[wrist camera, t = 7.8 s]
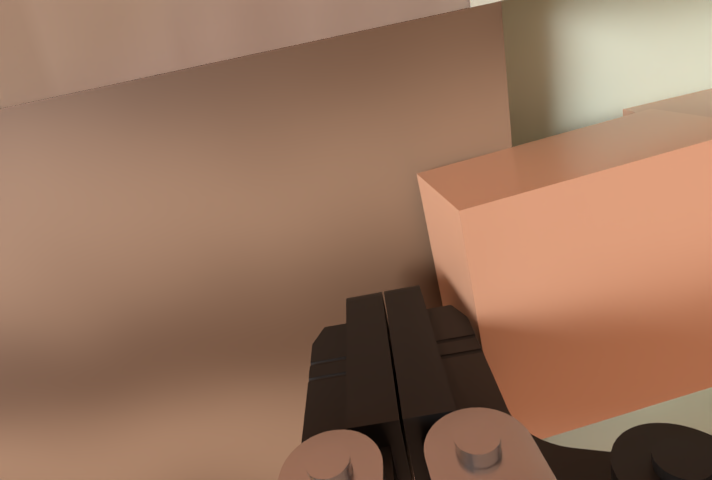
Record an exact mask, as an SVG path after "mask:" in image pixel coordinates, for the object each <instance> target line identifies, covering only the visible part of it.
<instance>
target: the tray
mask: <svg viewBox="0 0 712 480" xmlns="http://www.w3.org/2000/svg"><path fill="white" fill-rule="evenodd" d="M498 1H501V6H502V19H503V33H504V46H505V59H506V73H507V86H508V99H509V113H510V126H511V139H512V147H514V146H518V145H522V144H525V143H529V142H533V141H536V140H540V139H543V138H547V137H551V136H554V135H558V134H561V133H565V132H569V131H572V130H576V129H579V128H583V127H587V126H590V125H594V124H598V123H601V122H605V121H608V120H612V119H616V118H619V117H623V109H626V108H630V107H634V106H639V105H643V104H647V103H651V102H656V101H660V100H664V99H668V98H673V97H677V96H681V95H685V94H690V93H694V92H698V91H702V90H707V89H711V88H712V0H470V8H471V7H475V6H480V5H485V4H489V3H494V2H498ZM647 423H671V424H678V425H683V426H687V427H691V428H694V429H697V430H700V431H702V432H705V433H708V434H710V435H712V387H711V388H707V389H704V390H701V391H698V392H694V393H691V394H688V395H685V396H681V397H678V398H675V399H672V400H668V401H665V402H662V403H659V404H655V405H652V406H649V407H646V408H642V409H639V410H636V411H633V412H629V413H626V414H623V415H620V416H616V417H613V418H610V419H606V420H603V421H600V422H597V423H593V424H590V425H587V426H584V427H580V428H577V429H574V430H571V431H567V432H564V433H561V434H558V435H554V436H551V437H548V438H545V439H542V440H544V441H547V442H549V443H552V444H556V445H560V446H565V447H571V448H579V449H589V450H598V451H608V452H611V450H612V446H613V444H614V442H615V441H616V439H617V438H618V437H619V436H620V435H621V434H622V433H623V432H625V431H626V430H628V429H630V428H632V427H635V426H638V425H642V424H647Z"/></svg>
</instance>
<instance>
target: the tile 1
mask: <svg viewBox="0 0 712 480" xmlns="http://www.w3.org/2000/svg"><path fill="white" fill-rule="evenodd" d="M417 178H418V183H419V188H420V193H421V199H422V204H423V209H424V214H425V219H426V224H427V229H428V234H429V239H430V244H431V249H432V254H433V259H434V264H435V269H436V274H437V279H438V284H439V289H440V294H441V299H442V305H443V306H446V305H452V306H453V307H455V308H456V309H457V310H459V311H460V312H462V313H463V314H464V315H466V316H467V317H468V319H469V321H470V323H471V326H472V328H473V330H474V332H475V336H476V337H477V339H478V342H479V344H480V346H481V349H482V352H483V353H484V355H485V358H486V360H487V362H488V365H489V367H490V369H491V371H492V374H493V376H494V378H495V381H496V383H497V385H498V387H499V390H500V392H501V394H502V397H503V399H504V401H505V404H506V406H507V408H508V410H509V412H510V414H511V416H512V417H514V418H515V419H517V420H518V421H519V422H521V423H522V424H523V425H524V426H525V427H526V428H527V430H528V431H529V433H530V434H532V435H534V436H536V437H538V438H539V439H545V438H548V437H551V436H554V435H558V434H561V433H564V432H567V431H571V430H574V429H577V428H580V427H584V426H587V425H590V424H593V423H597V422H600V421H603V420H606V419H610V418H613V417H616V416H620V415H623V414H626V413H629V412H633V411H636V410H639V409H642V408H646V407H649V406H652V405H655V404H659V403H662V402H665V401H668V400H672V399H675V398H678V397H681V396H685V395H688V394H691V393H694V392H698V391H701V390H704V389H707V388H711V387H712V117H705V116H698V115H691V114H684V113H678V112H671V111H664V110H657V109H648V110H644V111H641V112H637V113H634V114H630V115H626V116H623V117H619V118H616V119H612V120H608V121H605V122H601V123H598V124H594V125H590V126H587V127H583V128H579V129H576V130H572V131H569V132H565V133H561V134H558V135H554V136H551V137H547V138H543V139H540V140H536V141H533V142H529V143H525V144H522V145H518V146H514V147H511V148H507V149H504V150H500V151H496V152H493V153H489V154H486V155H482V156H478V157H475V158H471V159H468V160H464V161H460V162H457V163H453V164H449V165H446V166H442V167H439V168H435V169H431V170H428V171H424V172H421V173H417Z"/></svg>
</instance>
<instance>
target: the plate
mask: <svg viewBox="0 0 712 480" xmlns="http://www.w3.org/2000/svg"><path fill="white" fill-rule="evenodd" d="M511 147H512V139H511V126H510V113H509V99H508V86H507V73H506V59H505V46H504V33H503V19H502V6H501V1H498V2H494V3H489V4H485V5H480V6H475V7H471V8H466V9H461V10H457V11H452V12H447V13H443V14H438V15H433V16H429V17H424V18H419V19H415V20H410V21H405V22H401V23H396V24H392V25H387V26H382V27H378V28H373V29H368V30H364V31H359V32H354V33H350V34H345V35H340V36H336V37H331V38H326V39H322V40H317V41H312V42H308V43H303V44H299V45H294V46H289V47H285V48H280V49H275V50H271V51H266V52H261V53H257V54H252V55H247V56H243V57H238V58H233V59H229V60H224V61H219V62H215V63H210V64H206V65H201V66H196V67H192V68H187V69H182V70H178V71H173V72H168V73H164V74H159V75H154V76H150V77H145V78H140V79H136V80H131V81H126V82H122V83H117V84H113V85H108V86H103V87H99V88H94V89H89V90H85V91H80V92H75V93H71V94H66V95H61V96H57V97H52V98H47V99H43V100H38V101H33V102H29V103H24V104H20V105H15V106H10V107H6V108H1V109H0V480H278V477H279V474H280V471H281V468H282V466H283V464H284V462H285V460H286V459H287V457H288V456H289V455H290V453H291V452H292V451H293V450H294V449H295V448H296V447H297V446H299V445H300V444H301V442H302V433H303V424H304V415H305V406H306V397H307V388H308V382H309V370H310V366H311V364H310V361H311V352H312V344H313V343H314V341H315V340H316V338H317V337H318V336H319V334H320V333H321V331H322V330H323V328H324V327H328V326H334V325H340V324H345V323H346V299H347V298H351V297H356V296H362V295H367V294H373V293H378V292H382V295H383V299H384V304H385V309H386V303H385V296H384V291H389V290H394V289H400V288H406V287H411V286H417V285H419V286H420V288H421V292H422V295H423V299H424V302H425V305H426V309H429V308H435V307H441V306H443V305H442V299H441V294H440V289H439V284H438V279H437V274H436V269H435V264H434V259H433V254H432V249H431V244H430V239H429V234H428V229H427V224H426V219H425V214H424V209H423V204H422V199H421V193H420V188H419V183H418V178H417V173H421V172H424V171H428V170H431V169H435V168H439V167H442V166H446V165H449V164H453V163H457V162H460V161H464V160H468V159H471V158H475V157H478V156H482V155H486V154H489V153H493V152H496V151H500V150H504V149H507V148H511ZM386 314H387V310H386ZM387 319H388V316H387ZM388 324H389V323H388Z"/></svg>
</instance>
